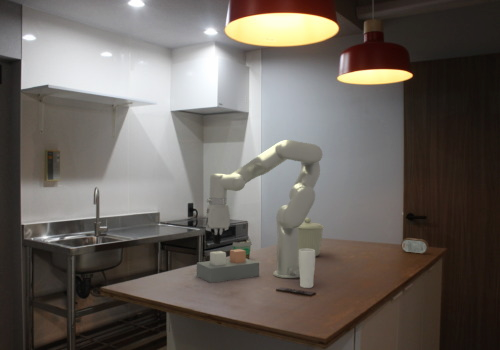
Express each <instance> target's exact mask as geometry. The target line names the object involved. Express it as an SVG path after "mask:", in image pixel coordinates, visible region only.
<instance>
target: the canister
mask: <svg viewBox="0 0 500 350" xmlns="http://www.w3.org/2000/svg"><path fill="white" fill-rule="evenodd" d="M311 221H312V220H311V218H310V217H306V218H305V220H304V222H303V223H302V224H301V225H300V226H299V227H298V257H299V249H314V250H315V257H318V256H319V255H320V252H321V246H322V240H323V233H324V232H323V230H324V228H325V226H324V225H322V224H321V223H319V222H311Z"/></svg>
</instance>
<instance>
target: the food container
mask: <svg viewBox="0 0 500 350" xmlns="http://www.w3.org/2000/svg"><path fill="white" fill-rule="evenodd" d="M251 246H252V241H251V240H250V239H246V241H239V242H235V241H233V242H232V248H233V250H236V249H241V250H245V251H246V258H247V259H250V256H251V255H250V254H251Z"/></svg>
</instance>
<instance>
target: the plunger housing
mask: <svg viewBox="0 0 500 350" xmlns="http://www.w3.org/2000/svg"><path fill="white" fill-rule="evenodd" d="M259 276H260V262H258V261H256V260H253V259H250V258H249V259H247V258H246V262H243V263H233V262H230V258H226V265H218V266H214V265H212V264H210V260H208V261H199V262H196V277H198V278H199V279H202V280H204V281H207V283H209V284H212V283H213V284H214V283H220V281H221V282H226V281H227V280H228V281H234V280H242V279H247V278H248V279H249V278H257V277H259ZM228 281H227V282H228Z"/></svg>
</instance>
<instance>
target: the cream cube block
mask: <svg viewBox="0 0 500 350" xmlns="http://www.w3.org/2000/svg"><path fill="white" fill-rule="evenodd" d="M226 259H227V252H225V251H222V250H217V251H210V252H209V261H210V264H212V265H214V266H218V265H226Z"/></svg>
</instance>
